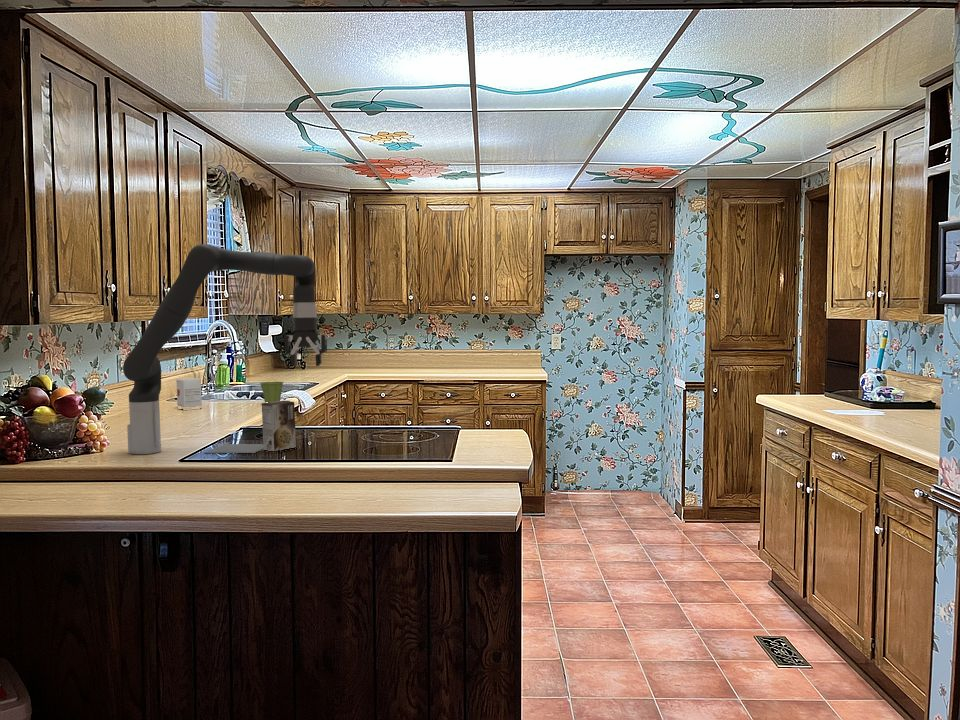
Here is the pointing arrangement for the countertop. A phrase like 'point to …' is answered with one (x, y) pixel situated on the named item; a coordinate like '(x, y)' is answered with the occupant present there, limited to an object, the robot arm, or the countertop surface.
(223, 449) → the mat
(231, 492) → the countertop surface
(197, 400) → the supplement box
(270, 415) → the coffee box
